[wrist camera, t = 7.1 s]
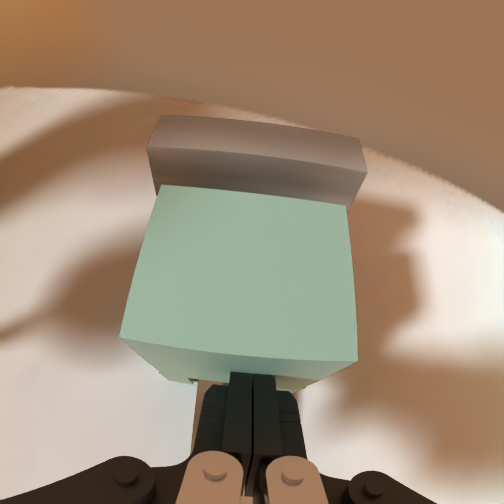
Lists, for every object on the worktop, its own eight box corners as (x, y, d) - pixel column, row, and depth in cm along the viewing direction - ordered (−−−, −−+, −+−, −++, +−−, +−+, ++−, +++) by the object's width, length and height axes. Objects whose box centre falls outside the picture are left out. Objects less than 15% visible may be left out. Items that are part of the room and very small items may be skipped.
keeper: (292, 393, 14) (361, 361, 7) (169, 380, 14) (115, 336, 7) (295, 303, 17) (348, 206, 10) (183, 291, 17) (158, 184, 10)
